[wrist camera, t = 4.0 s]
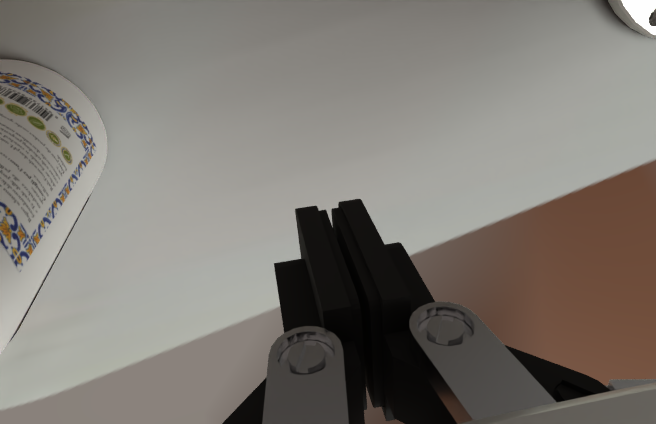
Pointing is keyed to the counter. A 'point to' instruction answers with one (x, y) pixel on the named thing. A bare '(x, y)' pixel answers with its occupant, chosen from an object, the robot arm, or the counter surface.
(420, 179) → the counter surface
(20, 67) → the bath foam
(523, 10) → the counter surface
